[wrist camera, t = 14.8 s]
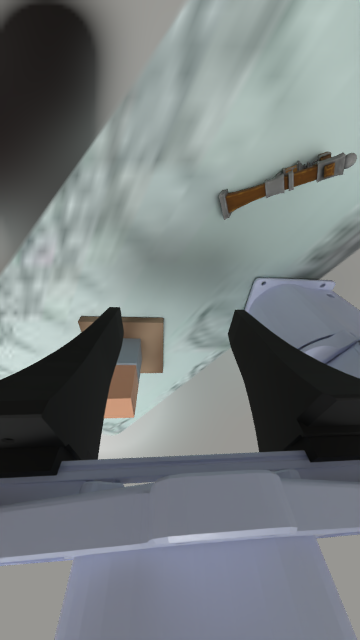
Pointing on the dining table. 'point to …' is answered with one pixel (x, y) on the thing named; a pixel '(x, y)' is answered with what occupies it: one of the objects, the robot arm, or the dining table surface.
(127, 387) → the terracotta cube
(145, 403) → the dining table surface
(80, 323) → the walnut base plate
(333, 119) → the dining table surface
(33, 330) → the dining table surface
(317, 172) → the wooden post with brackets
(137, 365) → the slate cube
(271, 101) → the dining table surface
